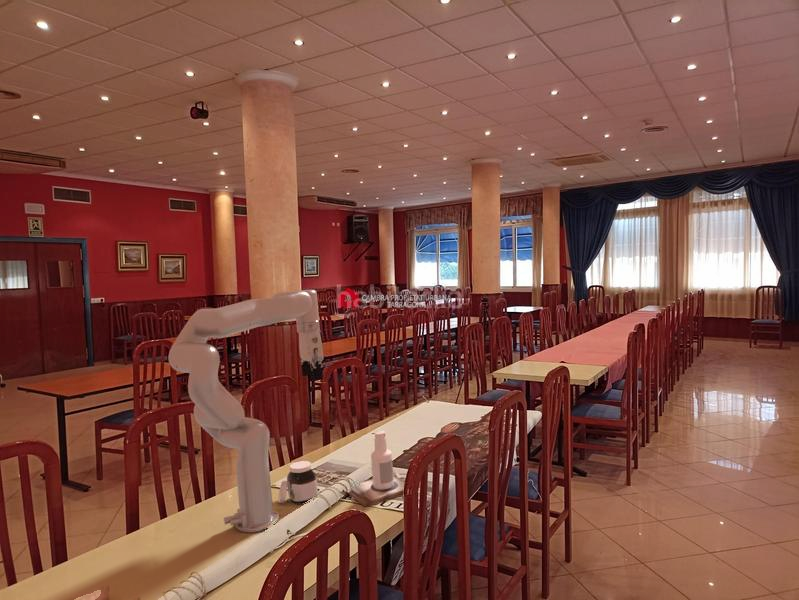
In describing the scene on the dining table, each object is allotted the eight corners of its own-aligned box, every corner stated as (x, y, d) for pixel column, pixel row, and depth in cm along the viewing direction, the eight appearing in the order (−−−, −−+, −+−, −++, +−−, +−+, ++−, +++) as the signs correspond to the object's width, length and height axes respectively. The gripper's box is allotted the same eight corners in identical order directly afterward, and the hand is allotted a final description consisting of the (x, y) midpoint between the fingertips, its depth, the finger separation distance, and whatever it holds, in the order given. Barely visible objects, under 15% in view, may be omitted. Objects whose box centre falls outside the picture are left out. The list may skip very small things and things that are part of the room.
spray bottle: (391, 490, 175) (387, 435, 174) (371, 489, 177) (367, 435, 175) (395, 481, 182) (392, 429, 181) (376, 481, 183) (372, 429, 182)
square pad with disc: (364, 507, 168) (364, 501, 168) (342, 490, 181) (342, 484, 181) (413, 491, 177) (413, 485, 177) (389, 476, 191) (388, 470, 190)
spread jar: (321, 499, 175) (318, 464, 175) (291, 512, 168) (287, 475, 167) (302, 490, 184) (299, 456, 184) (272, 501, 177) (269, 466, 176)
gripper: (329, 327, 175) (333, 379, 176) (309, 324, 190) (313, 372, 191) (307, 330, 171) (311, 383, 172) (288, 326, 186) (292, 376, 187)
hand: (312, 377), depth 181 cm, fingers open, 9 cm apart
